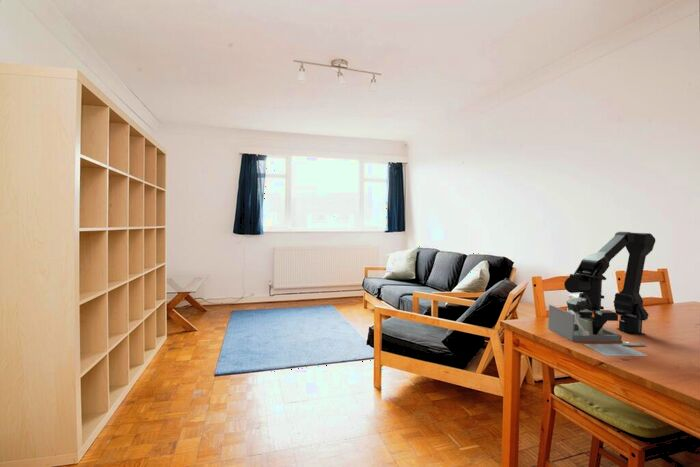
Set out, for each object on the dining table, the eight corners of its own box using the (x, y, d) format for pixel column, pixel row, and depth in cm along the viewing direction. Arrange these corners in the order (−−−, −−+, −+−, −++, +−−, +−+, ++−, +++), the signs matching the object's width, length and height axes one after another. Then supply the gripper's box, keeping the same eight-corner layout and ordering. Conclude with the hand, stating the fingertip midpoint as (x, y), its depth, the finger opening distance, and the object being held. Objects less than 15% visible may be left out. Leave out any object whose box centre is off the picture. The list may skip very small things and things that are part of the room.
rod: (643, 346, 119) (643, 342, 119) (646, 347, 118) (646, 344, 117) (620, 344, 119) (621, 341, 118) (623, 345, 117) (624, 342, 117)
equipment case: (592, 329, 136) (593, 305, 136) (621, 342, 122) (622, 315, 121) (548, 329, 136) (549, 304, 135) (572, 342, 121) (573, 314, 121)
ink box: (566, 319, 150) (567, 293, 149) (578, 320, 149) (580, 294, 148) (575, 325, 141) (576, 297, 141) (588, 326, 140) (589, 298, 140)
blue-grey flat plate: (622, 345, 119) (622, 344, 119) (648, 357, 109) (648, 355, 109) (583, 345, 119) (583, 344, 119) (605, 356, 109) (605, 355, 109)
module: (593, 333, 130) (594, 317, 130) (602, 337, 126) (603, 320, 125) (578, 333, 130) (578, 317, 130) (586, 337, 126) (587, 320, 125)
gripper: (555, 286, 136) (553, 324, 137) (589, 297, 118) (587, 341, 118) (582, 286, 136) (580, 324, 137) (620, 297, 118) (618, 341, 119)
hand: (590, 332), depth 128 cm, fingers closed on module, 4 cm apart
